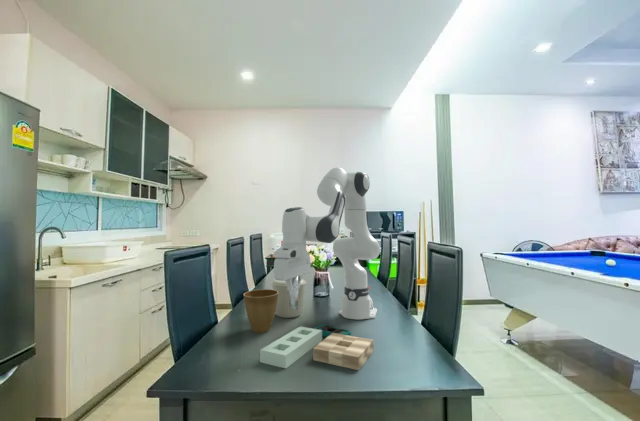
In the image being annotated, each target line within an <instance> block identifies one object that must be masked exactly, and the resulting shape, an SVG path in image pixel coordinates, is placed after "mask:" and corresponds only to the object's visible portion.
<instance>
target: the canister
mask: <svg viewBox="0 0 640 421" xmlns="http://www.w3.org/2000/svg"><path fill="white" fill-rule="evenodd" d="M270 284H271V287H272V288H271V290H276V291H278V300H277V306H276V311H275V315H276V316H278V317H280V318H284V319H292V318H297V317H299V316H301V314H302V313H303V308H304V300H305V292H306V285H307V281H306V280H305V279H303V278H302V280H301V283H300V288H298V309H290V308H289V291H288V290H287V284H286V282H285V280H284V281H279V280H276V279H275V278H274V279H273V281H271V282H270Z"/></svg>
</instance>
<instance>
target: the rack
mask: <svg viewBox="0 0 640 421" xmlns="http://www.w3.org/2000/svg"><path fill="white" fill-rule="evenodd" d="M322 341H323V336H322V330H318V329H315V328H311V327H305V326H299V327H297V328H295V329H293V330H292V331H290V332H288V333H287V334H285V335H283V336H282V337H280V338H278V339H276V340H275V341H273V342H271V343H269V344H268V345H266V346H264V347H263V348H261V349H260V350H259V358H260V359H259V363H263V364H265V365H270V366H274V367H277V368H282V369H287V368H289V367H290V366H291V365H292V364H294V363H295V362H296V361H297V360H299V359H300V358H302V357H303V356H304V355H305V354H307V353H308V352H310V351H311V350H313V348H314V347H315V346H316V345H318V344H319V343H320V342H322Z"/></svg>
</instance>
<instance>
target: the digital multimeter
mask: <svg viewBox="0 0 640 421" xmlns="http://www.w3.org/2000/svg"><path fill="white" fill-rule="evenodd" d="M314 329H318V330H322V337H325V338H327V337H328V336H329V335H331V334H332V333H336V334H342V335H348V336H352V331H350V330H347V329H343V328H339V327H336V326H335V327H334V326H331V325H328V324H321V325H320V324H319V325H318V326H316V327H315V328H314Z"/></svg>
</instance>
